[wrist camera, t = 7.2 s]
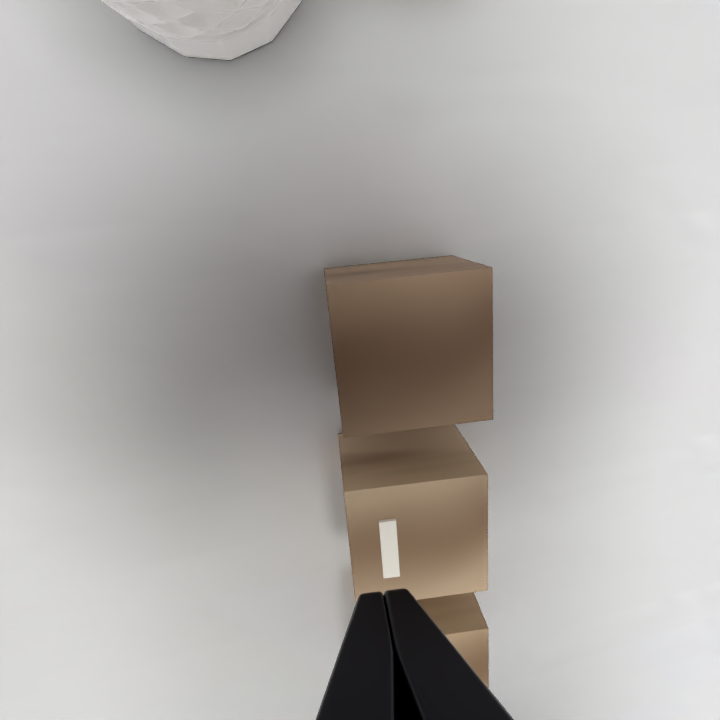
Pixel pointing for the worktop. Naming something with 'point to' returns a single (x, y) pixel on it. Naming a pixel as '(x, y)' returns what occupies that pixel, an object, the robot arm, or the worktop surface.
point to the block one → (462, 627)
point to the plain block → (412, 343)
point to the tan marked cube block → (415, 512)
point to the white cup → (208, 23)
